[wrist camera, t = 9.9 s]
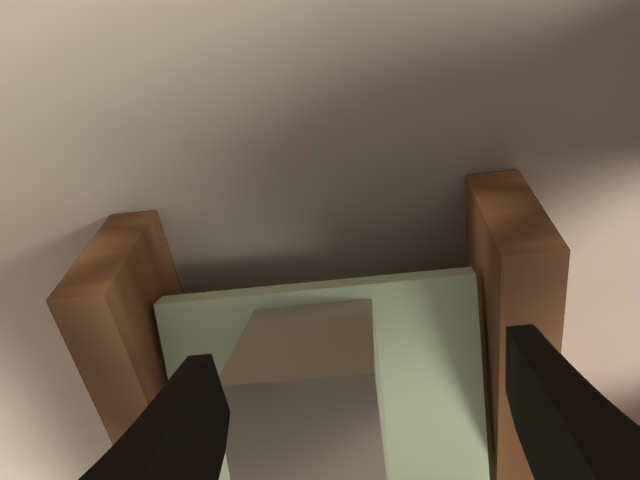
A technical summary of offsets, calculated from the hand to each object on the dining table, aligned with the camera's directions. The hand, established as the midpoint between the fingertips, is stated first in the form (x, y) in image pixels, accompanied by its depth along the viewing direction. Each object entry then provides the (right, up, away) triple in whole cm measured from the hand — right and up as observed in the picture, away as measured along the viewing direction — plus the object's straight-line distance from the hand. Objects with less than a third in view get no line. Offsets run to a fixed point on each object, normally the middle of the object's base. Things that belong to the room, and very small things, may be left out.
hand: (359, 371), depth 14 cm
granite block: (-1, -1, +8) cm, 8 cm away
